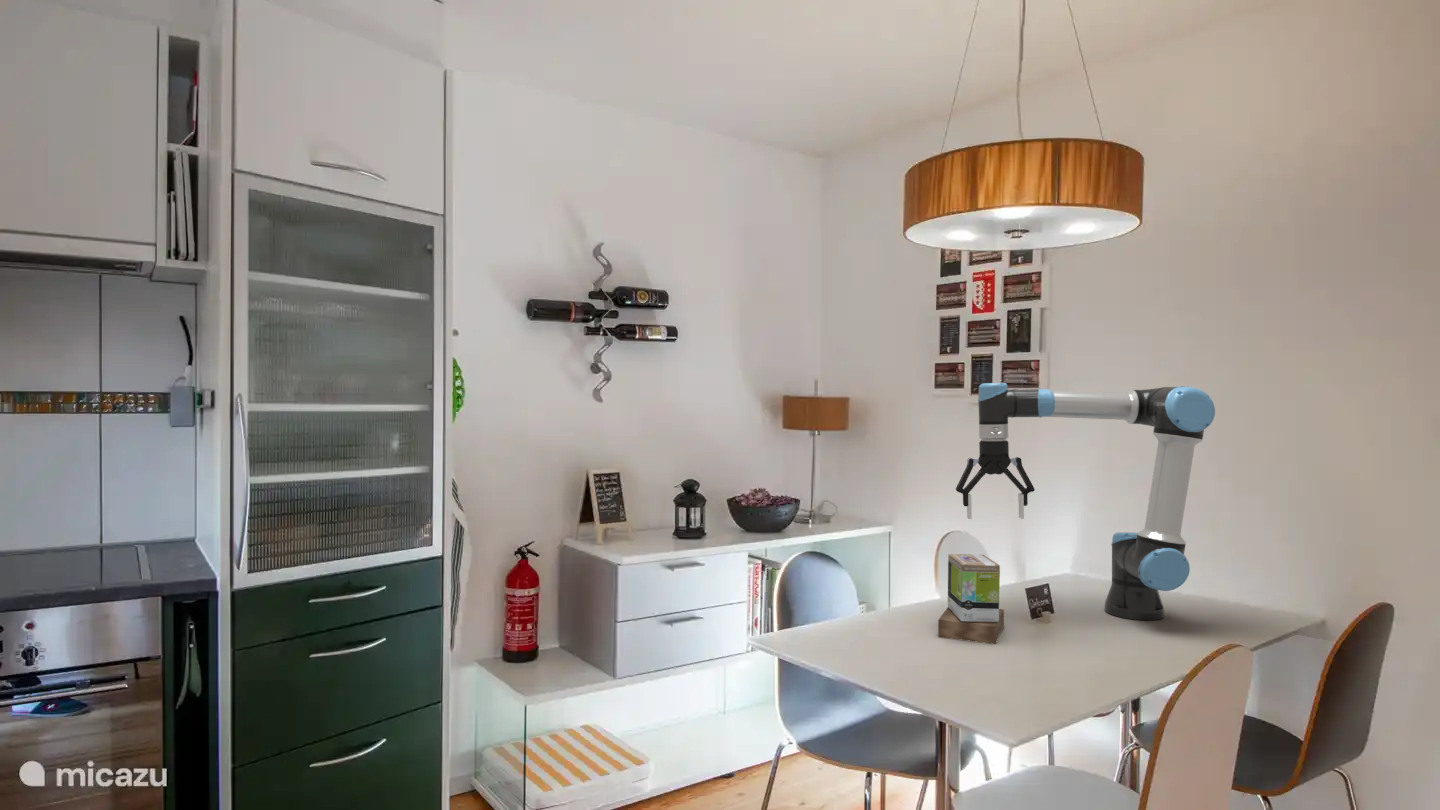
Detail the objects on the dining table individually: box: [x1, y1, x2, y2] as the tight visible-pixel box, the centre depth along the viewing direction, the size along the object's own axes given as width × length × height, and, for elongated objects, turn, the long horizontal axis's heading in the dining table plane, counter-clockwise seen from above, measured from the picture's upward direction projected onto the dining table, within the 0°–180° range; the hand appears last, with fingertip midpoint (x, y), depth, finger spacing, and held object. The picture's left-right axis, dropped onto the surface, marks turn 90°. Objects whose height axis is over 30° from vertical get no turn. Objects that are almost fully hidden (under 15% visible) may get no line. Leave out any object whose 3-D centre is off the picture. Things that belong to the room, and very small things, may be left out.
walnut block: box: [937, 606, 1005, 645], centre depth 218 cm, size 14×18×5 cm
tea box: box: [947, 553, 1001, 622], centre depth 218 cm, size 15×10×15 cm, turn 178°
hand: (995, 518), depth 226 cm, fingers open, 13 cm apart
